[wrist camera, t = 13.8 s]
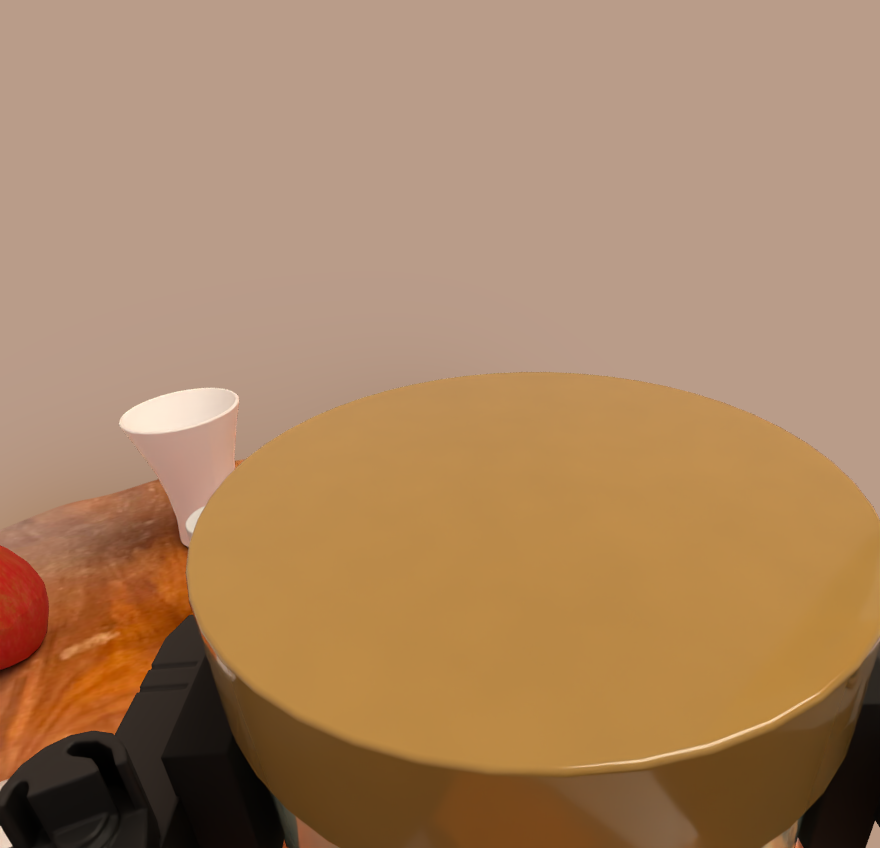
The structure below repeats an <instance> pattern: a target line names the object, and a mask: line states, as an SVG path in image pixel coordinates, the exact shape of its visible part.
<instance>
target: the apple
mask: <svg viewBox="0 0 880 848" xmlns="http://www.w3.org/2000/svg"><path fill="white" fill-rule="evenodd" d="M48 614H49V603H48V596H47V592H46V588H45V584H44V582H43V580H42V579H41V578H40V576H39V575H38V573H37V572H36V571H35V570H34V569H33V568H32V567H31V566H30V564H29V563H28V562H27V561H25V560H24V559H22V558H21V557H19V556H18V555H16V554H15V553H13V552H12V551H10V550H9V549H7V548H5V547H3V546H0V670H2V669H5V668H7V667H10V666H12V665H14V664H16V663H18V662H21V661H23V660H25V659H27V658H28V657H29V656H30V655H31V654H33V653H34V652H35V651H36V650H37V649H38V648H39V647H40V645H41V643H42V641H43V639H44V637H45V635H46V633H47V626H48Z"/></svg>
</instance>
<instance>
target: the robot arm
mask: <svg viewBox="0 0 880 848" xmlns="http://www.w3.org/2000/svg"><path fill="white" fill-rule="evenodd" d="M875 821H876V822H877V824H878V825H879V827H880V648H879V651H878V655H877V658H876V661H875V665H874V668H873V671H872V675H871V678H870V681H869V684H868V688H867V691H866V694H865V698H864V701H863V704H862V708H861V711H860V714H859V718H858V721H857V724H856V727H855V730H854V733H853V736H852V739H851V742H850V745H849V748H848V751H847V754H846V757H845V758H844V760H843V762H842V763H841V765H840V767H839V768H838V770H837V772H836V773H835V775H834V777H833V778H832V780H831V782H830V783H829V785H828V786H827V788H826V790H825V791H824V793H823V794H822V795H821V796H820V797H819V798H818V799H817V800H816V801H815V802H814V804H813V805H812V806H811V807H810V808H809V809H808V810H807V811H806V812H805V813H804V816H803V820H802V823H801V827H800V831H799V834H798V838H799V840H800V842H801V844H802V846H803V847H804V848H866V845H867V842H868V839H869V836H870V833H871V831H872V828H873V824H874V822H875ZM0 826H1V828H2V829H3V831H4V833H5V834H6V836H7V838H8V839H9V841H10V843H11V844H12V847H9V848H282V847H283V842H284V836H283V833H282V830H281V826H280V823H279V819H278V816H277V813H276V809H275V806H274V803H273V799H272V796H271V793H270V790H269V789H268V788H267V787H266V786H265V784H264V783H263V782H262V781H261V780H260V779H259V778H258V777H257V775H256V774H255V772H254V770H253V769H252V767H251V766H250V764H249V762H248V761H247V759H246V757H245V756H244V754H243V753H242V751H241V749H240V748H239V746H238V744H237V743H236V741H235V738H234V736H233V733H232V730H231V728H230V725H229V722H228V720H227V717H226V714H225V712H224V709H223V706H222V703H221V700H220V697H219V694H218V690H217V687H216V684H215V681H214V678H213V675H212V672H211V669H210V665H209V662H208V659H207V656H206V653H205V650H204V647H203V644H202V640H201V637H200V634H199V631H198V628H197V625H196V622H195V619H194V616H193V615H189V616H188V617H187V618H186V619H185V620H184V621H183V622H182V623H181V624H180V625H179V626H178V627H177V628H176V629H175V630H174V631H173V632H172V633H171V634H170V635H169V636H168V637H167V638H166V639H165V640H164V642H163V644H162V646H161V648H160V650H159V652H158V654H157V656H156V658H155V659H154V661H153V663H152V669H151V670H149V671H148V673H147V675H146V677H145V678H144V680H143V682H142V684H141V686H140V692H139V693H137V694H136V695H135V697H134V699H133V701H132V703H131V705H130V707H129V709H128V711H127V713H126V714H125V716H124V718H123V720H122V722H121V724H120V726H119V728H118V730H117V732H116V733H115V735H113V734H112V733H106V732H99V731H89V732H84V733H80V734H75V735H70V736H68V737H66V738H64V739H62V740H60V741H57V742H55V743H53V744H51V745H49V746H47V747H45V748H44V749H42V750H41V751H40V752H38V753H37V754H36V755H34V756H33V757H32V758H30V759H29V760H28V761H26V762H25V763H24V764H22V765H21V766H20V767H19V768H18V770H17V771H16V772H15V773H14V774H13V775H12V776H11V777H10V779H9V780H8V781H7V782H6V783H5V784H4V785H3V786H2V788H1V790H0Z"/></svg>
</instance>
